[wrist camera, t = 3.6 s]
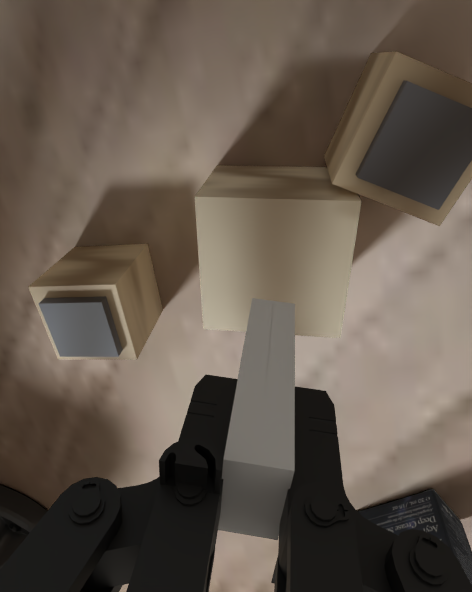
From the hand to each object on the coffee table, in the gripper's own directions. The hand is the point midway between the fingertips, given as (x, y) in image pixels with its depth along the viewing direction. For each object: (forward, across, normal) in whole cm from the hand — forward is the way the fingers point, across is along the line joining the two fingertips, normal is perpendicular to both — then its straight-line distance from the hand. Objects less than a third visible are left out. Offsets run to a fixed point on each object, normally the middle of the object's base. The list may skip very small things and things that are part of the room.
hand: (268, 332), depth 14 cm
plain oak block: (+11, 0, 0) cm, 11 cm away
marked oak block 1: (+11, +5, +6) cm, 13 cm away
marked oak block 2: (+11, -10, -5) cm, 16 cm away
